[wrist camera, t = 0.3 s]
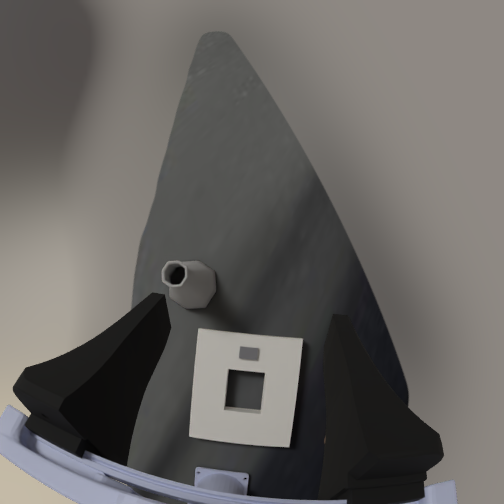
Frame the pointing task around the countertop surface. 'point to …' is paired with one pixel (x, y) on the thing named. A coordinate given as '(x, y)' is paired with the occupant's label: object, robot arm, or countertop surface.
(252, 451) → the countertop surface
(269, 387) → the socket
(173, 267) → the flask
